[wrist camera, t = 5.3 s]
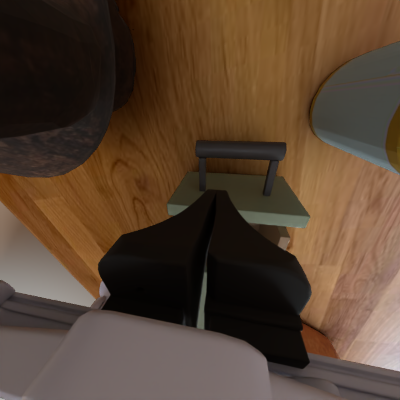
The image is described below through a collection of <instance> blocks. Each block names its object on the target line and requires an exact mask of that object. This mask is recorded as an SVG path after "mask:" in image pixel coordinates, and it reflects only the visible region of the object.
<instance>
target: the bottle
mask: <svg viewBox="0 0 400 400" xmlns="http://www.w3.org/2000/svg"><path fill="white" fill-rule="evenodd" d="M310 126H311V128H312V130H313V133H314V134H315V135H316V136H317V137H318V138H319V139H320V140H322V141H323V142H325V143H327V144H330V145H332V146H334V147H337V148H339V149H341V150H343V151H346V152H348V153H350V154H353V155H355V156H357V157H360V158H362V159H364V160H366V161H369V162H371V163H373V164H376V165H378V166H380V167H383V168H385V169H387V170H389V171H392V172H394V173H396V174H399V175H400V41H398V42H396V43H393V44H390V45H387V46H385V47H382V48H379V49H376V50H373V51H371V52H368V53H366V54H363V55H361V56H358V57H356V58H354V59H352V60H350V61H348V62H346V63H345V64H343V65H342V66H341V67H339V68H338V69H337V70H335V71H334V72H333V73H332V74H331V75H330V76H329V77H328V78H327V79H326V81H325V82H324V83H323V84H322V85H321V87H320V88H319V90H318V92H317V94H316V95H315V97H314V99H313V102H312V106H311V109H310Z"/></svg>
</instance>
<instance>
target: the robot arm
mask: <svg viewBox="0 0 400 400" xmlns="http://www.w3.org/2000/svg"><path fill="white" fill-rule="evenodd" d="M206 259H207V288H206V298H205V305H204V330H203V329H198V328H197V325H198V317H199V310H200V302H201V294H202V287H203V280H204V272H205V265H206ZM98 271H99V274H100V277H101V279H102V282H101V285H100V297H99V298H97V299H96V301H94V303H93V304H92V305H91V307H85V306H80V305H76V304H71V303H66V302H61V301H56V300H51V299H46V298H42V297H37V296H32V295H27V294H22V293H17V292H15V290H14V289H13V288H12V287H11V286H10V285H9V284H8V283H6V282H4V281H2V280H0V398H2V399H5V400H400V372H399V371H394V370H390V369H385V368H380V367H375V366H370V365H365V364H361V363H356V362H351V361H346V360H341V359H336V358H332V357H327V356H322V355H317V354H312V353H307V351H306V348H305V344H304V341H303V338H302V334H301V331H302V330H303V325H302V322H301V318H300V315H299V314H300V313H301V311H302V310H303V308H304V307H305V305H306V304H307V302H308V301H309V299H310V296H311V294H312V292H311V286H310V284H309V282H308V279H307V277H306V275H305V273H304V271H303V269H302V267H301V265H300V264H299V262H298V260H297V258H296V257H295V256H294V255H292V254H291V253H289V252H287V251H286V250H284V249H282V248H281V247H279V246H277V245H276V244H274V243H273V242H271V241H270V240H268V239H267V238H265V237H264V236H263V235H261V234H260V233H259V232H258V231H256V230H255V229H254V228H253V227H252V226H251V225H250V224H249V223H248V222H247V221H246V220H245V219H244V218H243V217H242V216H241V214H240V213H239V212H238V210H237V209H236V207H235V206H234V204H233V203H232V201H231V199H230V197H229V195H228V192H227V191H226V190H214V189H207V190H206V191H205V192H204V193H203V194H202V195H201V196H200V197H199V198H198V199H197V200H196V201H195V202H194V203H192V204H191V205H190V206H189V207H187V208H186V209H185V210H183V211H182V212H180V213H178V214H177V215H175V216H173V217H171V218H169V219H167V220H165V221H163V222H160V223H158V224H155V225H153V226H150V227H147V228H144V229H141V230H138V231H134V232H131V233H127V234H123V235H122V236H121V237H120V238H119V239H118V240H117V241H116V242H115V244H114V245H113V246H112V247H111V248H110V249H109V251H108V252H107V253H106V254H105V255H104V257H103V258H102V259H101V260H100V262H99V264H98Z"/></svg>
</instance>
